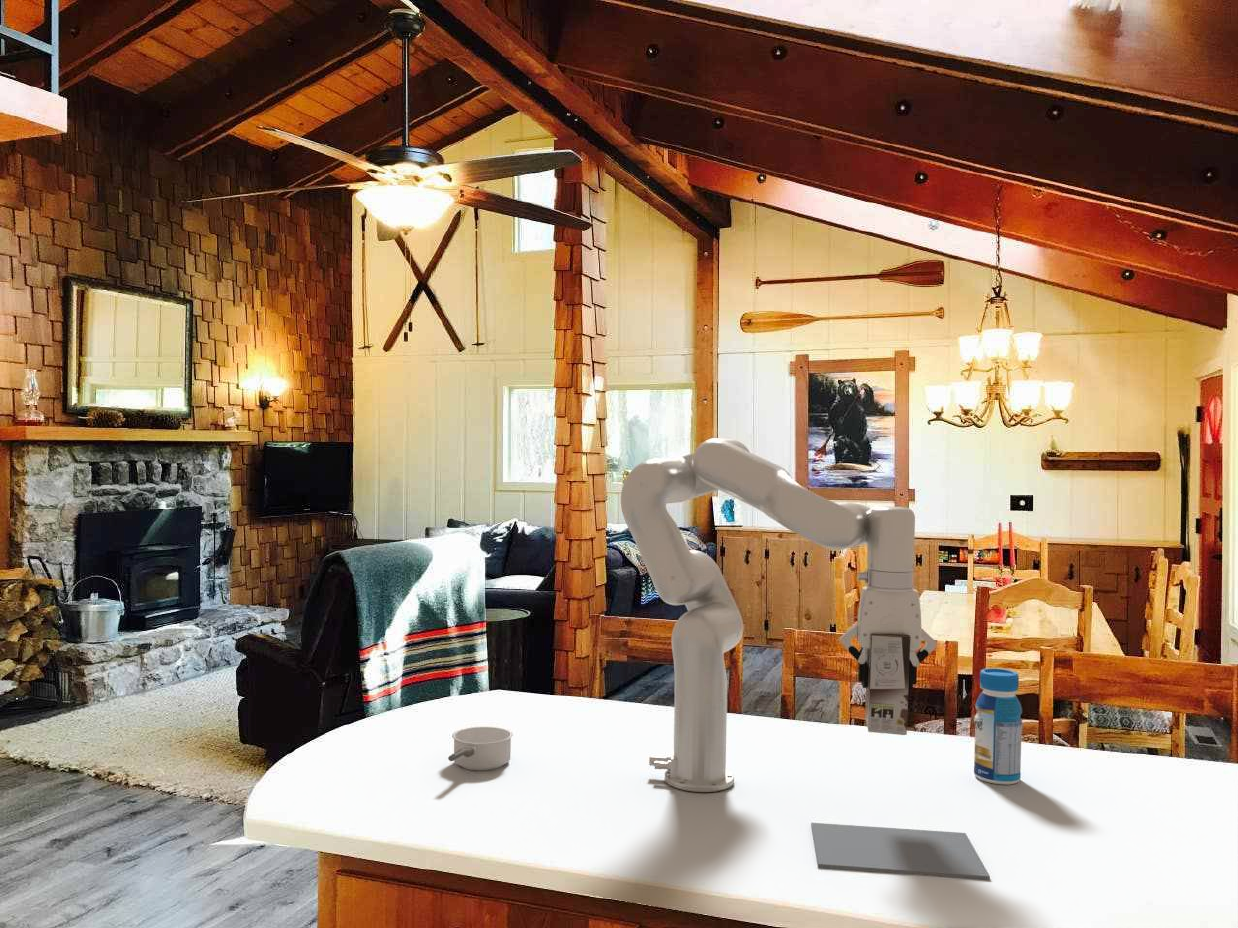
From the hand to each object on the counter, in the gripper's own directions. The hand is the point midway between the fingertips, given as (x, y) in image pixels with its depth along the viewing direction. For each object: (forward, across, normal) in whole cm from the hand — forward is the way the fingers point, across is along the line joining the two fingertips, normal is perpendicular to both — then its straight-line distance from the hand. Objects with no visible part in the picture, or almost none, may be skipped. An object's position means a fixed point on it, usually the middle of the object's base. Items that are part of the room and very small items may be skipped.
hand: (886, 686), depth 163 cm
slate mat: (+21, 0, -15) cm, 26 cm away
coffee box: (+7, 0, 0) cm, 7 cm away
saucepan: (+22, -73, +10) cm, 77 cm away
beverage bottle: (+22, +24, +22) cm, 39 cm away
